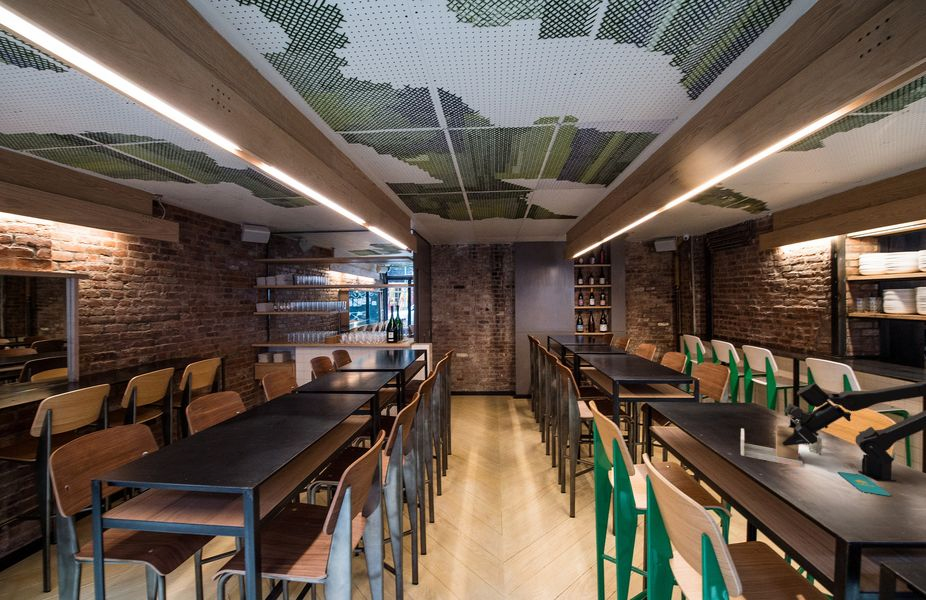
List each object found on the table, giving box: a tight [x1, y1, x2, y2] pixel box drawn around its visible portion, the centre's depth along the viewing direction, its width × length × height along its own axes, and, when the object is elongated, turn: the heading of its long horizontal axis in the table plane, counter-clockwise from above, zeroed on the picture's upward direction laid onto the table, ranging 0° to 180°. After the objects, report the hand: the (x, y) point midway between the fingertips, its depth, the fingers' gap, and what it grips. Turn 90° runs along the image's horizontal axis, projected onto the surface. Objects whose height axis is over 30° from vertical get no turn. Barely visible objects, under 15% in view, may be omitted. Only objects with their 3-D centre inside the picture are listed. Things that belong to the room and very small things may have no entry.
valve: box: [807, 432, 823, 456], centre depth 155 cm, size 7×7×12 cm
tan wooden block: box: [775, 425, 800, 461], centre depth 146 cm, size 6×6×10 cm
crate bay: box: [740, 428, 806, 468], centre depth 149 cm, size 18×15×7 cm
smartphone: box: [837, 471, 892, 498], centre depth 127 cm, size 7×1×15 cm
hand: (782, 440), depth 147 cm, fingers open, 9 cm apart
